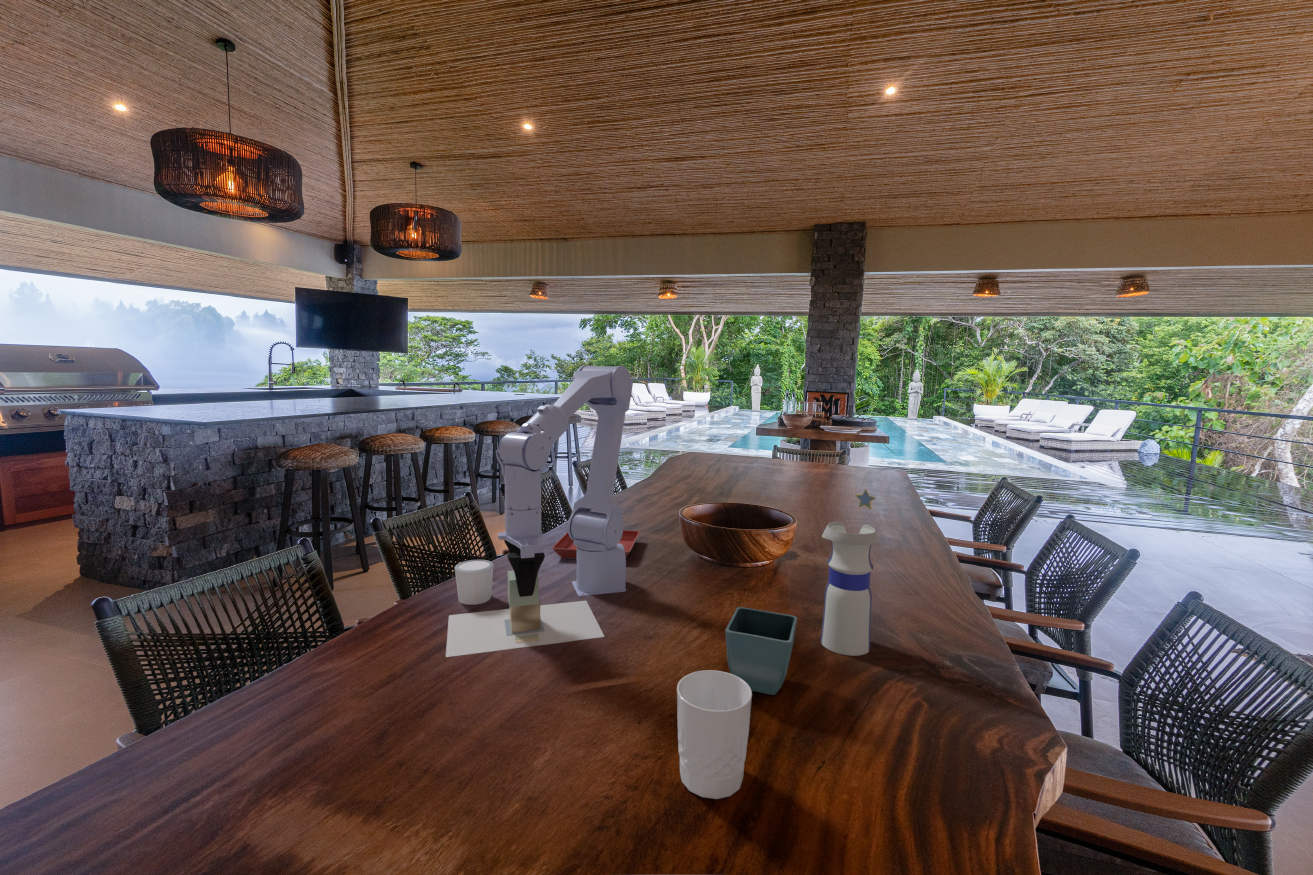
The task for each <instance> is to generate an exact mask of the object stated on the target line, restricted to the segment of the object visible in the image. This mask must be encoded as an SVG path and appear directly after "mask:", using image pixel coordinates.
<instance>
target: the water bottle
mask: <svg viewBox="0 0 1313 875" xmlns="http://www.w3.org/2000/svg"><path fill="white" fill-rule="evenodd" d="M854 495H855V497H856V498H857V499H858V501H859V503H858V504H859V505H858V508H862V507H866V508H867V509H869V510H872V505H871V502H872V501H874V500H875V499H876V496H873V495H870V494H869V493H868V491H867V489H866V488H865V489H864V491H863V493H861V494H854ZM845 526H846V525H844V523H843V522H841V521H832V522H829V523H828V524H826V527H825V529H824V531H823V533H822V534H821V538H823V539H826V540H829V541H830V542H831V553H830V556H829V558H828V559H827V561H826V563H827V565H828V566H829V568H828V581H827V583H826V586H825V589H824V590H825V591H824V601H823V611H822V612H823V613H822V614H823V615H822V624H821V632H820V644H821V645H822V646H823V647H824V648H825V649H827V650H829V651H831V652H833V653H836V654H838V655H839V654H840V655H844V656H851V657H852V656H854V657H855V656H856V657H857V656H858V657H859V656H863V655H866V654H868V653H869V652H870V651H871V627H872V626H871V624H872V623H871V621H872V620H871V619H872V602H873V601H872V600H873V597H872V590H871V587H870V584H871V571H873V570H874V565H873V563H872V561H871V548H872V545H879V544H880V543H879V540H878V536H877V531H876V529H875V528H874V527H873V526H871V525H868V524H863V525H862V526H861V528H860V529H859V533H849V532H847V531H846V530H847V529H846V527H845Z"/></svg>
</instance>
